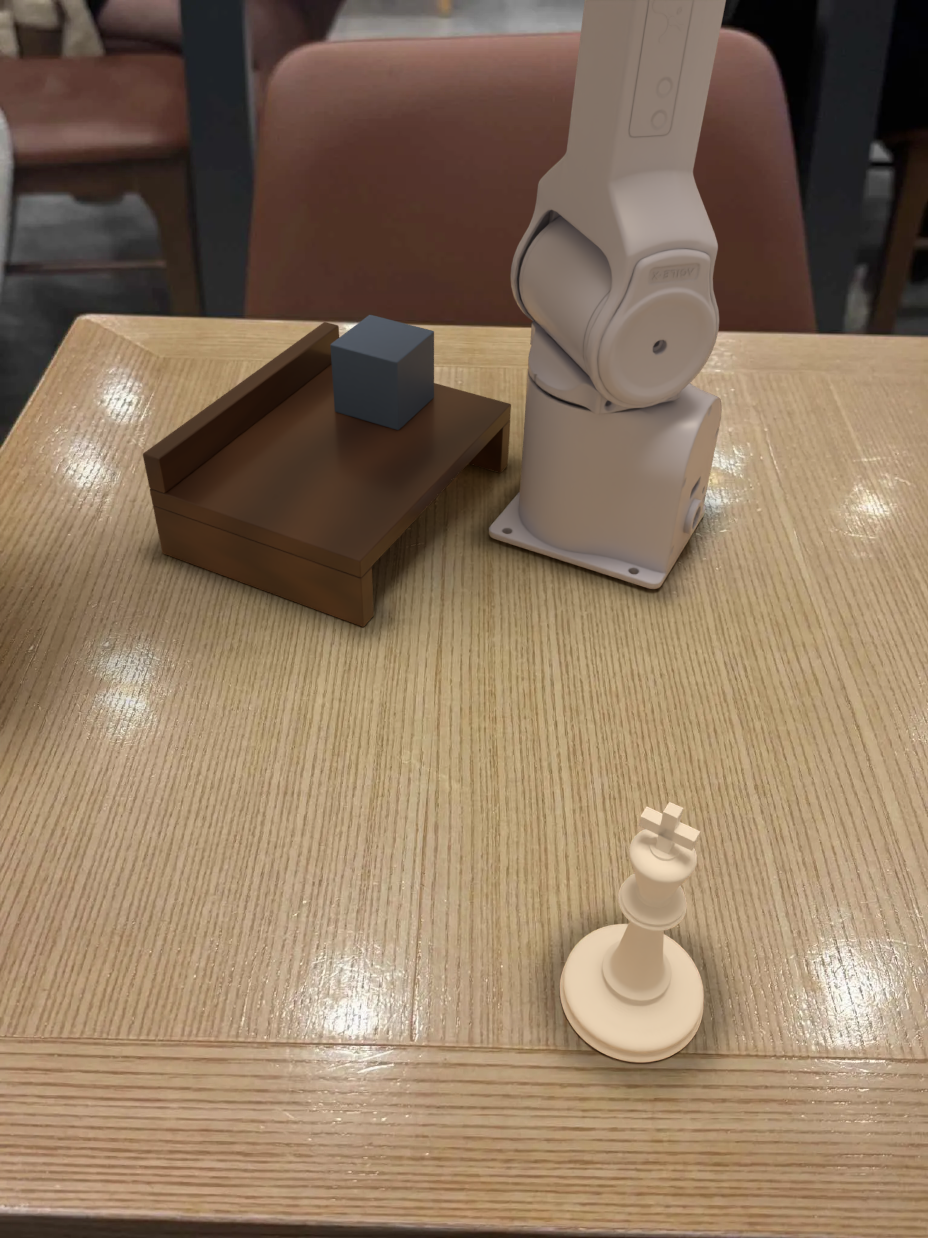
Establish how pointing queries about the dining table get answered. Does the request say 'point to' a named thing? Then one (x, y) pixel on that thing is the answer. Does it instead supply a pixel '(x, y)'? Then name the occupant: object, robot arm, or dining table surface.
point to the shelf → (310, 479)
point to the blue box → (383, 371)
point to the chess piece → (640, 954)
